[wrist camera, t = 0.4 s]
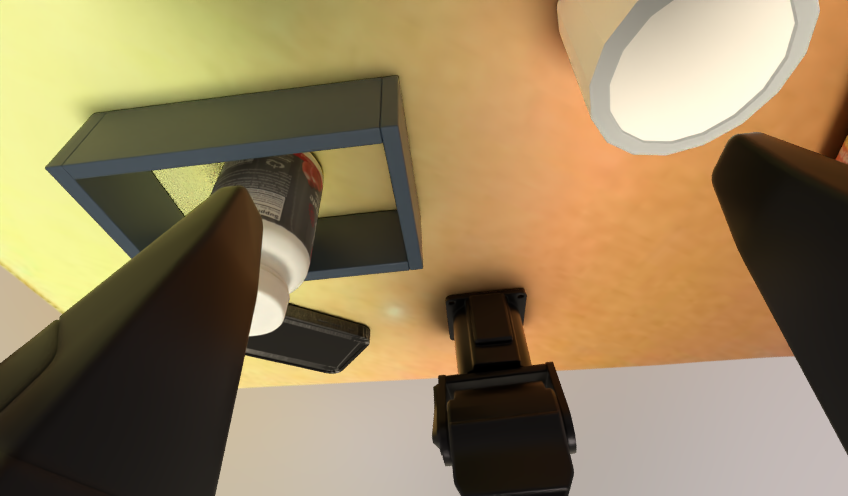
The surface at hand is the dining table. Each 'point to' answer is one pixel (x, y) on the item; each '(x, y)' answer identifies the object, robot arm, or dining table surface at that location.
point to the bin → (246, 139)
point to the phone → (311, 341)
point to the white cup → (681, 64)
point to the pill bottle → (279, 225)
